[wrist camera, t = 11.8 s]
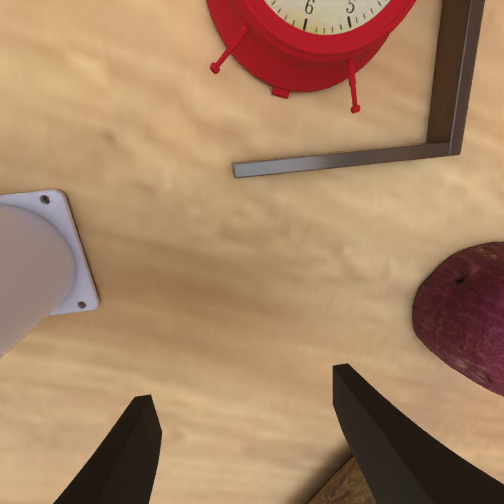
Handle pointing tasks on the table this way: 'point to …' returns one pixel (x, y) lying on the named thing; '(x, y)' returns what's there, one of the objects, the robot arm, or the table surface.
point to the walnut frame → (441, 114)
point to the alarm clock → (305, 39)
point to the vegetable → (466, 314)
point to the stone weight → (345, 487)
